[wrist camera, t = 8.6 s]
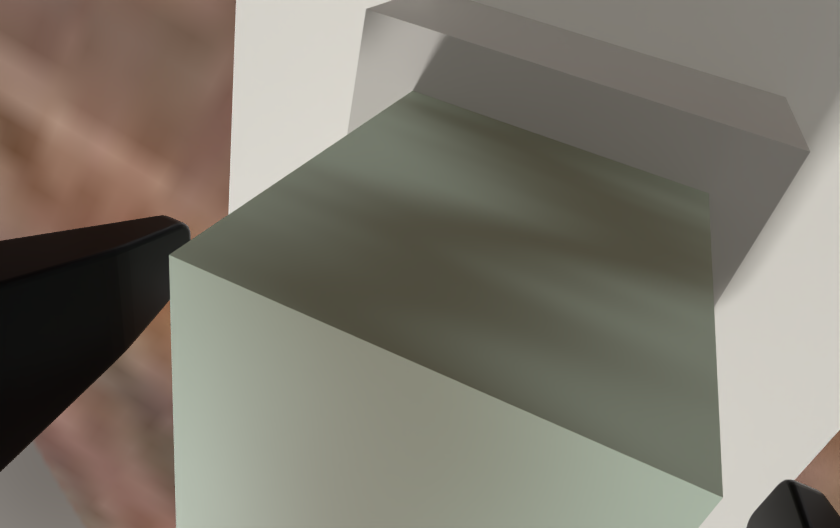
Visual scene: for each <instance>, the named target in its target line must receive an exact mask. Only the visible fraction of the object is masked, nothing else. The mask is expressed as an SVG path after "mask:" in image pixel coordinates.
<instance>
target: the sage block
mask: <svg viewBox="0 0 840 528" xmlns="http://www.w3.org/2000/svg"><path fill="white" fill-rule="evenodd" d="M169 275H170V313H171V350H172V387H173V425H174V462H175V499H176V528H699V526H700V525H701V524H702V523H703V522H704V520H705V519H706V518H707V517H708V515H709V514H710V513H711V512H712V511H713V509H714V508H715V507H716V506H717V504H718V503H719V502H720V501H721V500H722V498H723V485H722V464H721V443H720V421H719V400H718V379H717V357H716V336H715V315H714V294H713V272H712V251H711V230H710V208H709V193H706V192H703V191H701V190H698V189H695V188H692V187H689V186H686V185H683V184H680V183H677V182H675V181H672V180H669V179H666V178H663V177H660V176H657V175H654V174H652V173H649V172H646V171H643V170H640V169H637V168H634V167H631V166H629V165H626V164H623V163H620V162H617V161H614V160H611V159H608V158H605V157H603V156H600V155H597V154H594V153H591V152H588V151H585V150H582V149H580V148H577V147H574V146H571V145H568V144H565V143H562V142H559V141H556V140H554V139H551V138H548V137H545V136H542V135H539V134H536V133H533V132H531V131H528V130H525V129H522V128H519V127H516V126H513V125H510V124H508V123H505V122H502V121H499V120H496V119H493V118H490V117H487V116H484V115H482V114H479V113H476V112H473V111H470V110H467V109H464V108H461V107H459V106H456V105H453V104H450V103H447V102H444V101H441V100H438V99H435V98H433V97H430V96H427V95H424V94H421V93H418V92H415V91H411V92H410V93H408V94H407V95H405V96H404V97H402V98H401V99H399V100H398V101H396V102H395V103H393V104H392V105H391V106H389V107H388V108H386V109H385V110H383V111H382V112H380V113H379V114H377V115H376V116H374V117H373V118H371V119H370V120H368V121H367V122H365V123H364V124H362V125H361V126H359V127H358V128H356V129H355V130H353V131H352V132H350V133H349V134H348V135H346V136H345V137H343V138H342V139H340V140H339V141H337V142H336V143H334V144H333V145H331V146H330V147H328V148H327V149H325V150H324V151H322V152H321V153H319V154H318V155H316V156H315V157H313V158H312V159H310V160H309V161H307V162H306V163H305V164H303V165H302V166H300V167H299V168H297V169H296V170H294V171H293V172H291V173H290V174H288V175H287V176H285V177H284V178H282V179H281V180H279V181H278V182H276V183H275V184H273V185H272V186H270V187H269V188H267V189H266V190H264V191H263V192H262V193H260V194H259V195H257V196H256V197H254V198H253V199H251V200H250V201H248V202H247V203H245V204H244V205H242V206H241V207H239V208H238V209H236V210H235V211H233V212H232V213H230V214H229V215H227V216H226V217H224V218H223V219H221V220H220V221H219V222H217V223H216V224H214V225H213V226H211V227H210V228H208V229H207V230H205V231H204V232H202V233H201V234H199V235H198V236H196V237H195V238H193V239H192V240H190V241H189V242H187V243H186V244H184V245H183V246H181V247H180V248H178V249H177V250H176V251H174V252H173V253H171V254H170V255H169Z"/></svg>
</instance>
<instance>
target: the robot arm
mask: <svg viewBox="0 0 840 528" xmlns="http://www.w3.org/2000/svg"><path fill="white" fill-rule="evenodd" d="M189 241H190V230H189V227H188V226H187V225H186V224H185V223H183V222H180V221H178V220H176V219H173V218H171V217H168V216H163V215H161V216H154V217H148V218H142V219H135V220H129V221H123V222H116V223H110V224H104V225H97V226H91V227H85V228H79V229H72V230H66V231H60V232H53V233H47V234H41V235H34V236H28V237H22V238H15V239H9V240H3V241H0V472H1V471H2V470H3V469H4V468H5V467H6V466H7V465H8V464H9V463H10V462H11V461H12V460H13V459H14V458H15V457H16V456H17V455H19V454H20V453H21V452H22V451H23V450H24V449H25V448H26V447H27V446H28V445H29V444H30V443H31V442H32V441H33V440H34V439H35V438H36V437H37V436H38V435H39V434H40V433H41V432H43V431H44V430H45V429H46V428H47V427H48V426H49V425H50V424H51V423H52V422H53V421H54V420H55V419H56V418H57V417H58V416H59V415H60V414H61V413H62V412H63V411H64V410H65V409H66V408H68V407H69V406H70V405H71V404H72V403H73V402H74V401H75V400H76V399H77V398H78V397H79V396H80V395H81V394H82V393H83V392H84V391H85V390H86V389H87V388H88V387H89V386H90V385H92V384H93V383H94V382H95V381H96V380H97V379H98V378H99V377H100V376H101V375H102V374H103V373H104V372H105V371H106V370H107V369H108V368H109V367H110V366H111V365H112V364H113V363H114V362H115V361H116V360H117V359H118V358H119V357H120V356H121V355H122V354H123V353H124V352H125V351H126V350H127V349H128V348H129V347H130V346H131V345H132V344H133V342H134V341H135V340H136V339H137V338H138V337H139V336H140V334H141V333H142V332H143V331H144V330H145V328H146V327H147V326H148V325H149V324H150V323H151V321H152V320H153V319H154V318H155V317H156V315H157V314H158V313H159V312H160V311H161V309H162V308H163V307H164V306H165V305H166V304H167V302H168V301H169V300H170V275H169V255H170V254H171V253H173V252H174V251H176V250H177V249H178V248H180V247H181V246H183V245H184V244H186V243H187V242H189ZM746 528H840V516H839V515H838V513H837V512H836V511H835V509H834V508H833V506H832V505H831V504H830V502H829V501H828V500H827V498H826V497H825V496H824V495H823V494H822V493H821V492H820V491H818V490H816V489H814V488H811V487H809V486H807V485H804V484H802V483H799V482H797V481H795V480H791V479H786V480H784V481H782V482H780V483H779V484H778V485H777V486H776V487H775V488H774V490H773V491H772V492H771V493H770V494H769V495H768V496H767V497H766V499H765V500H764V501H763V502H762V503H761V504H760V505H759V507H758V508H757V509H756V510H755V511H754V512H753V514H752V515H751V517H750V519H749V521H748V524H747V527H746Z"/></svg>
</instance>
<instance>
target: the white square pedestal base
mask: <svg viewBox="0 0 840 528" xmlns="http://www.w3.org/2000/svg"><path fill="white" fill-rule="evenodd" d="M411 91H415V92H418V93H421V94H424V95H427V96H430V97H433V98H435V99H438V100H441V101H444V102H447V103H450V104H453V105H456V106H459V107H461V108H464V109H467V110H470V111H473V112H476V113H479V114H482V115H484V116H487V117H490V118H493V119H496V120H499V121H502V122H505V123H508V124H510V125H513V126H516V127H519V128H522V129H525V130H528V131H531V132H533V133H536V134H539V135H542V136H545V137H548V138H551V139H554V140H556V141H559V142H562V143H565V144H568V145H571V146H574V147H577V148H580V149H582V150H585V151H588V152H591V153H594V154H597V155H600V156H603V157H605V158H608V159H611V160H614V161H617V162H620V163H623V164H626V165H629V166H631V167H634V168H637V169H640V170H643V171H646V172H649V173H652V174H654V175H657V176H660V177H663V178H666V179H669V180H672V181H675V182H677V183H680V184H683V185H686V186H689V187H692V188H695V189H698V190H701V191H703V192H706V193H709V208H710V230H711V251H712V272H713V294H714V315H715V336H716V357H717V379H718V400H719V421H720V443H721V464H722V485H723V498H722V500H721V501H720V502H719V503H718V504H717V506H716V507H715V508H714V509H713V511H712V512H711V513H710V514H709V515H708V517H707V518H706V519H705V520H704V522H703V523H702V524H701V525H700V526H699V528H746V527H747V524H748V521H749V519H750V517H751V515H752V514H753V512H754V511H755V510H756V509H757V508H758V507H759V505H760V504H761V503H762V502H763V501H764V500H765V499H766V497H767V496H768V495H769V494H770V493H771V492H772V491H773V490H774V488H775V487H776V486H777V485H778V484H779V483H780V482H782V481H784V480H786V479H791V480H795V479H796V478H797V476H798V475H799V474H800V473H801V472H802V471H803V470H804V469H805V468H806V466H807V465H808V464H809V463H810V462H811V461H812V460H813V459H814V458H815V456H816V455H817V454H818V453H819V452H820V451H821V450H822V449H823V448H824V447H825V445H826V444H827V443H828V442H829V441H830V440H831V439H832V438H833V437H834V435H835V434H836V433H837V432H838V431H839V430H840V0H236V20H235V48H234V76H233V104H232V132H231V160H230V188H229V214H230V213H232V212H233V211H235V210H236V209H238V208H239V207H241V206H242V205H244V204H245V203H247V202H248V201H250V200H251V199H253V198H254V197H256V196H257V195H259V194H260V193H262V192H263V191H264V190H266V189H267V188H269V187H270V186H272V185H273V184H275V183H276V182H278V181H279V180H281V179H282V178H284V177H285V176H287V175H288V174H290V173H291V172H293V171H294V170H296V169H297V168H299V167H300V166H302V165H303V164H305V163H306V162H307V161H309V160H310V159H312V158H313V157H315V156H316V155H318V154H319V153H321V152H322V151H324V150H325V149H327V148H328V147H330V146H331V145H333V144H334V143H336V142H337V141H339V140H340V139H342V138H343V137H345V136H346V135H348V134H349V133H350V132H352V131H353V130H355V129H356V128H358V127H359V126H361V125H362V124H364V123H365V122H367V121H368V120H370V119H371V118H373V117H374V116H376V115H377V114H379V113H380V112H382V111H383V110H385V109H386V108H388V107H389V106H391V105H392V104H393V103H395V102H396V101H398V100H399V99H401V98H402V97H404V96H405V95H407V94H408V93H410V92H411Z"/></svg>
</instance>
